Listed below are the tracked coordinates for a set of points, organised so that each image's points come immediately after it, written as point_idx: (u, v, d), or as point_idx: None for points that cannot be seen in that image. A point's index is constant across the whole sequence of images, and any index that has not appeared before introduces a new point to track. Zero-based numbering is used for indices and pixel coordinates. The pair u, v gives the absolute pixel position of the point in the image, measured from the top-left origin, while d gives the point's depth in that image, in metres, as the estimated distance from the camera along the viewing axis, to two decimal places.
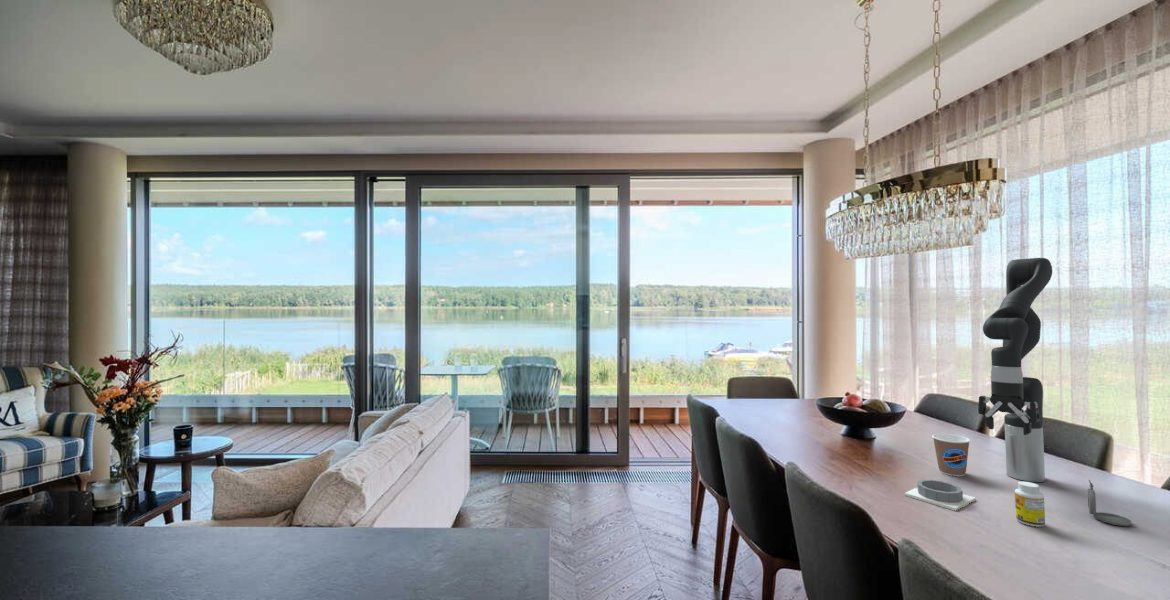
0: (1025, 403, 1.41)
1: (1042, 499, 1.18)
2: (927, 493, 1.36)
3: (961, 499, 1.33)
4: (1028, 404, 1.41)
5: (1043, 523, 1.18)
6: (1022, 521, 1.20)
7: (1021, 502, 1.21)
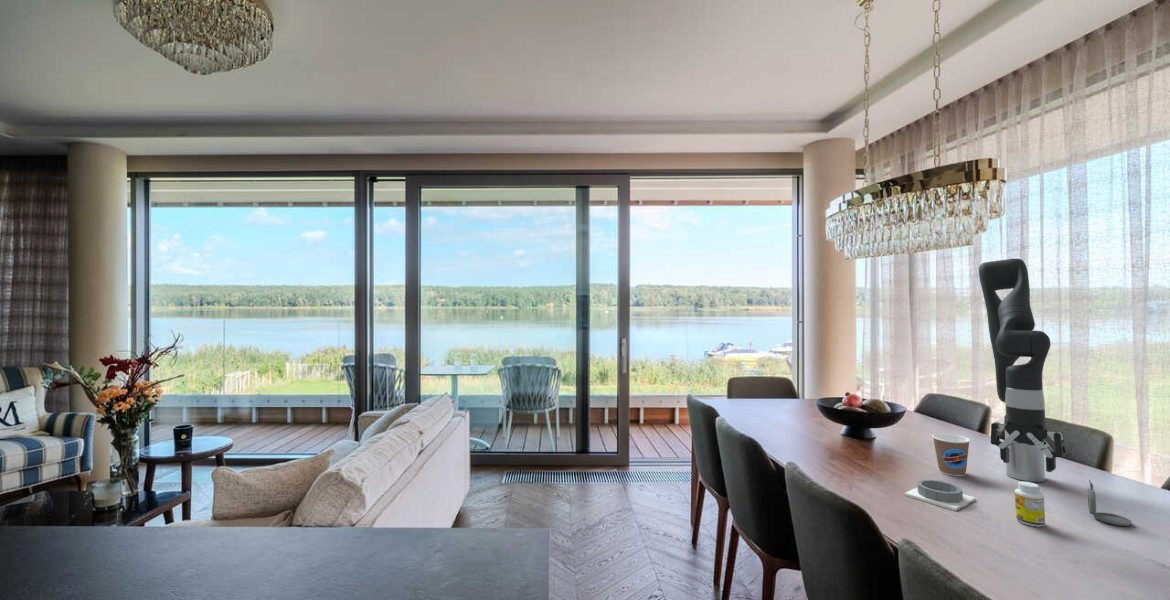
0: (1048, 434, 1.17)
1: (1042, 499, 1.18)
2: (927, 493, 1.36)
3: (961, 499, 1.33)
4: (1052, 435, 1.17)
5: (1043, 523, 1.18)
6: (1022, 521, 1.20)
7: (1021, 502, 1.21)
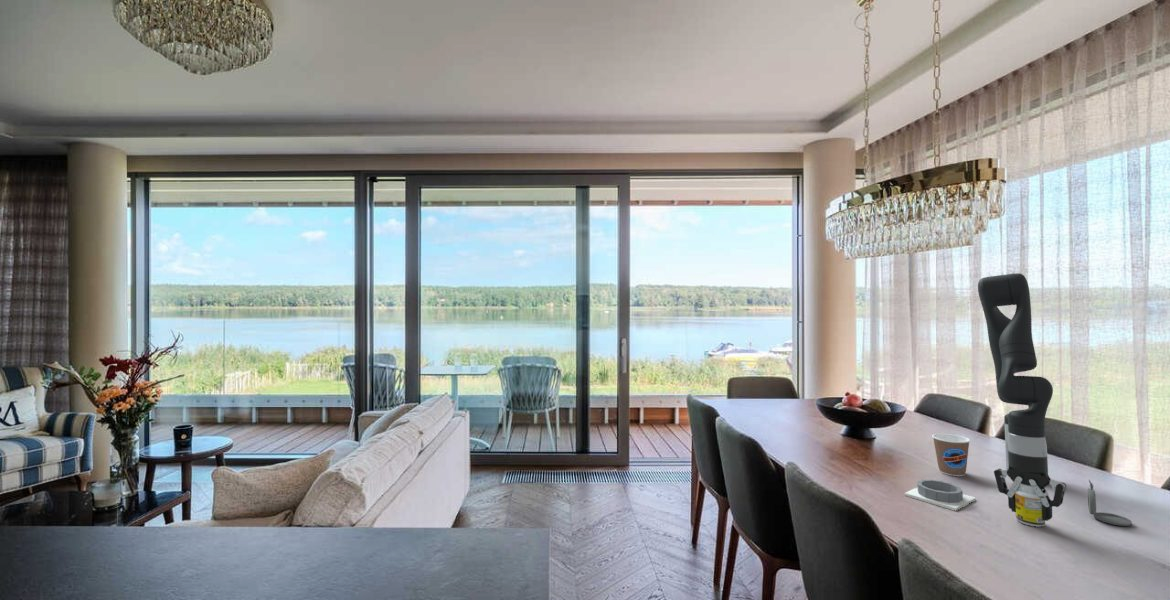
0: (1050, 482, 1.17)
1: None
2: (927, 493, 1.36)
3: (961, 499, 1.33)
4: (1054, 485, 1.17)
5: (1043, 523, 1.18)
6: (1022, 521, 1.20)
7: (1021, 502, 1.21)
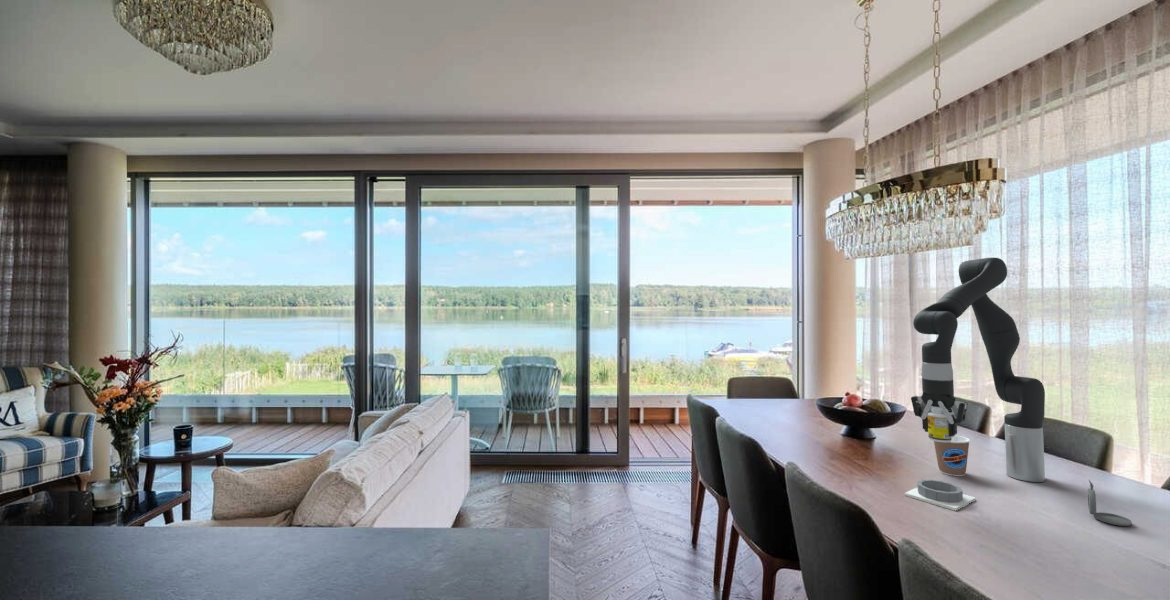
0: (955, 402, 1.34)
1: None
2: (927, 493, 1.36)
3: (961, 499, 1.33)
4: (957, 404, 1.33)
5: (949, 439, 1.35)
6: (932, 438, 1.37)
7: (931, 422, 1.37)
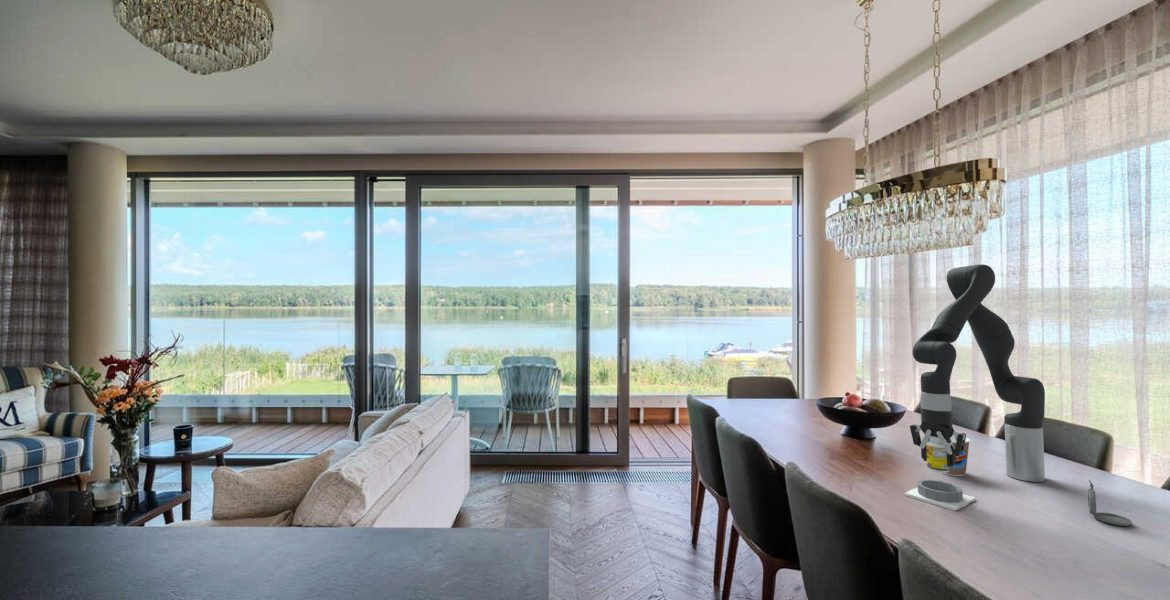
0: (953, 433, 1.34)
1: None
2: (927, 493, 1.36)
3: (961, 499, 1.33)
4: (956, 435, 1.34)
5: (948, 469, 1.35)
6: (931, 468, 1.37)
7: (930, 452, 1.37)
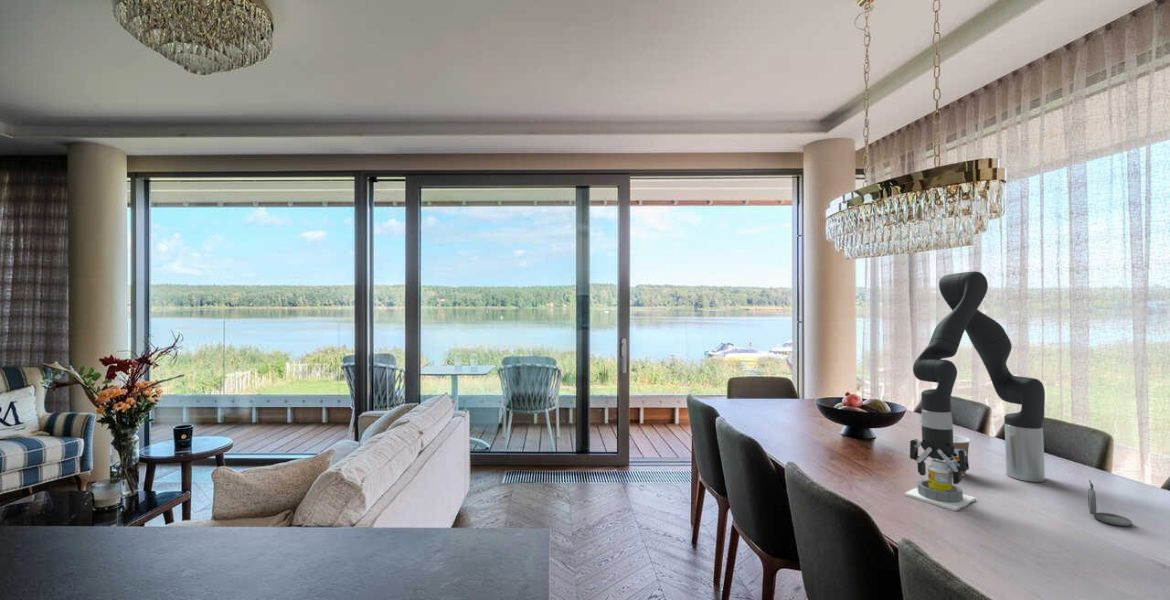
0: (954, 450, 1.34)
1: (949, 474, 1.35)
2: (927, 493, 1.36)
3: (961, 499, 1.33)
4: (957, 452, 1.33)
5: None
6: None
7: (932, 476, 1.37)
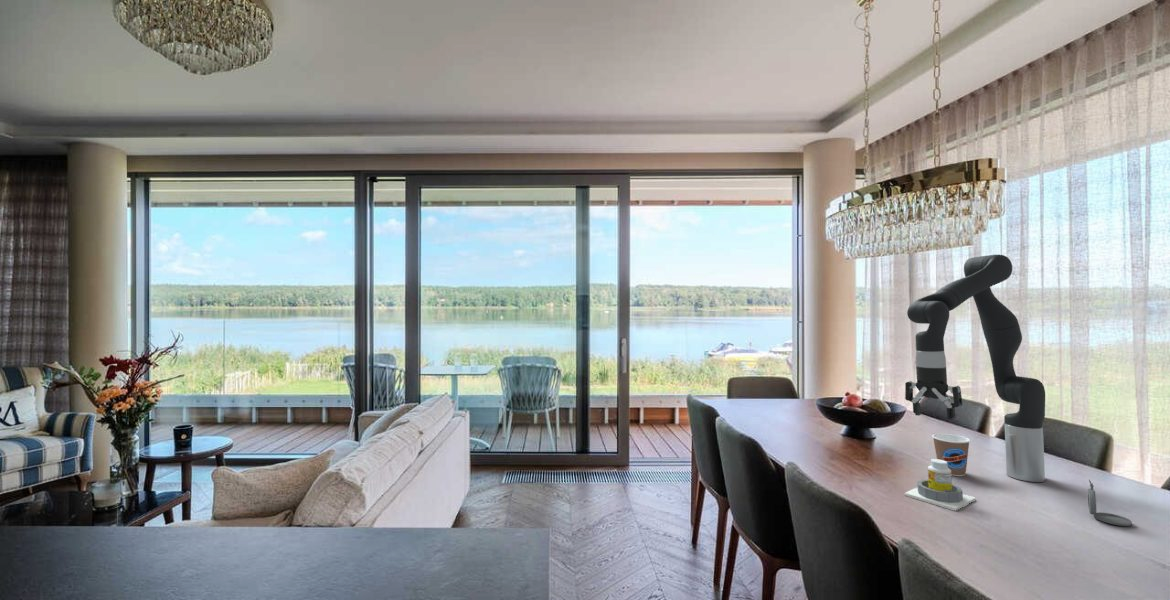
0: (948, 388, 1.38)
1: (949, 474, 1.35)
2: (927, 493, 1.36)
3: (961, 499, 1.33)
4: (951, 389, 1.37)
5: None
6: None
7: (931, 477, 1.37)
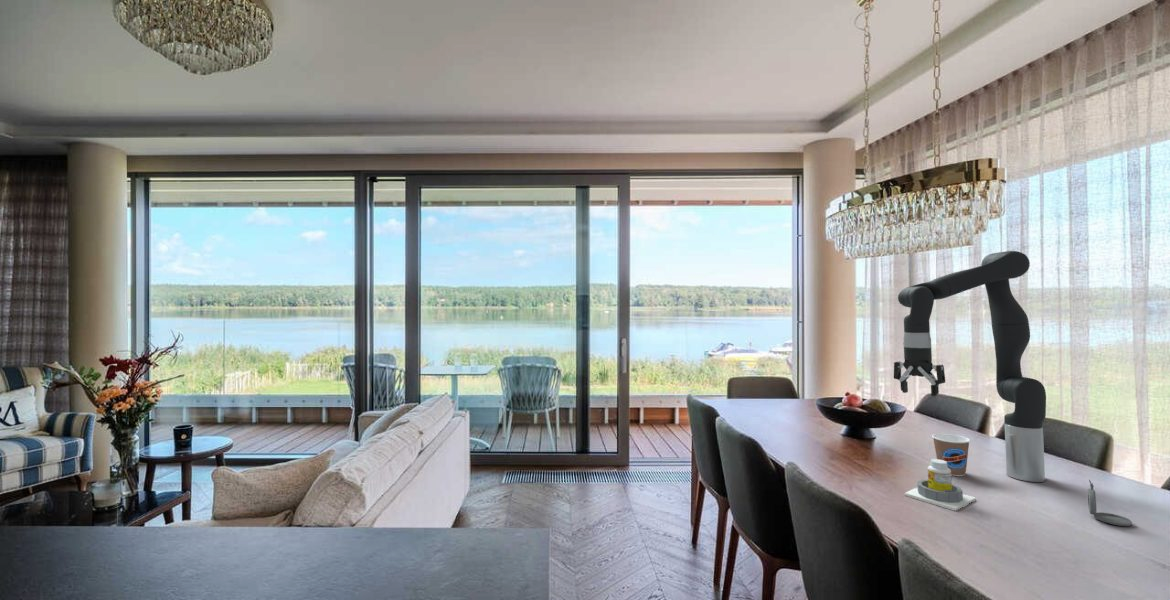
0: (932, 366, 1.50)
1: (949, 474, 1.35)
2: (927, 493, 1.36)
3: (961, 499, 1.33)
4: (935, 367, 1.49)
5: None
6: None
7: (931, 477, 1.37)
